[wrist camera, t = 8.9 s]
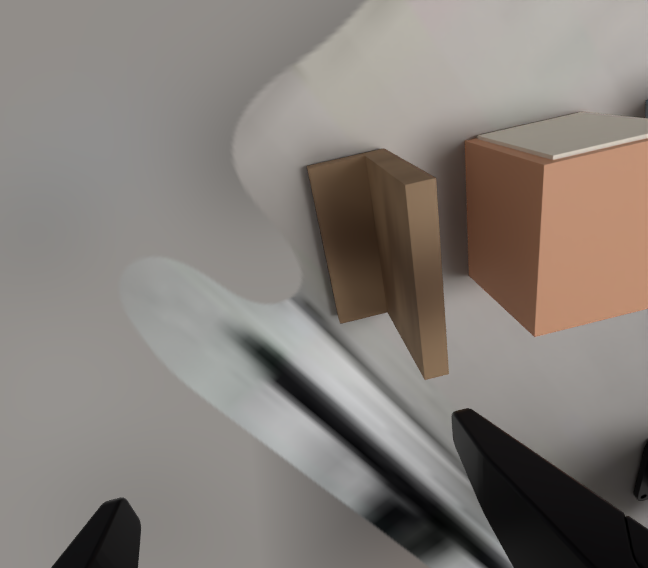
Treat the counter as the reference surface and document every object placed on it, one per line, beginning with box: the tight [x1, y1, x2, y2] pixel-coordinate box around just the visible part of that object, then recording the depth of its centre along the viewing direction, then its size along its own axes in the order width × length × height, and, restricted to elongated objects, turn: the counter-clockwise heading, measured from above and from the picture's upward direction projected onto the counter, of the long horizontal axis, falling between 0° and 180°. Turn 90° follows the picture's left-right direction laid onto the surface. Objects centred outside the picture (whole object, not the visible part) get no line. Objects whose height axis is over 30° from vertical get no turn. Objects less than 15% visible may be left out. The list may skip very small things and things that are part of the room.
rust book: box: [465, 112, 648, 337], centre depth 18 cm, size 7×6×6 cm
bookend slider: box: [307, 149, 449, 380], centre depth 17 cm, size 8×4×6 cm, turn 11°
